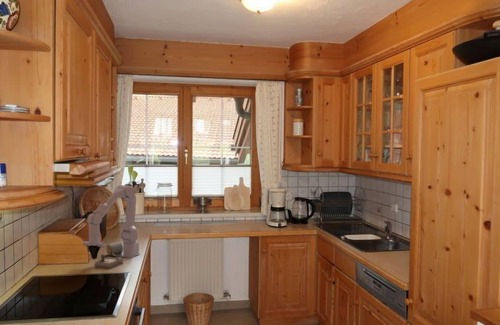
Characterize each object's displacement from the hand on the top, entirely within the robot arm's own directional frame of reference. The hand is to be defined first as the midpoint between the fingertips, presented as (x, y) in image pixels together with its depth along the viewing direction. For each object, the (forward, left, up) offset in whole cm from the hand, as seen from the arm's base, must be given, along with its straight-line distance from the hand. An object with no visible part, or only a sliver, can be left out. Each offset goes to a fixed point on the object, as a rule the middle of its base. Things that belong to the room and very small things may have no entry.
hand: (94, 258), depth 215 cm
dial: (-3, +7, -2) cm, 8 cm away
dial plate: (-3, +7, -4) cm, 9 cm away
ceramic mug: (-22, -3, -4) cm, 22 cm away
